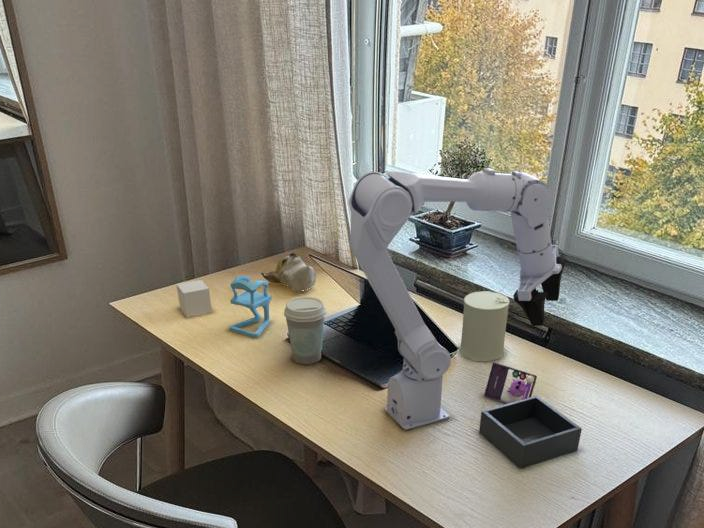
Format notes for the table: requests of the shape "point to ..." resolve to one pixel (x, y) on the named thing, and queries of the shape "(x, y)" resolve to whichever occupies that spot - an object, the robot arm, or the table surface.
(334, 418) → the table surface
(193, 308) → the grey cube
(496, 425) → the tub
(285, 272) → the ceramic sculpture
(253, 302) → the chair
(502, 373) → the purple toy package
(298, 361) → the coffee cup
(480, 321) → the can
